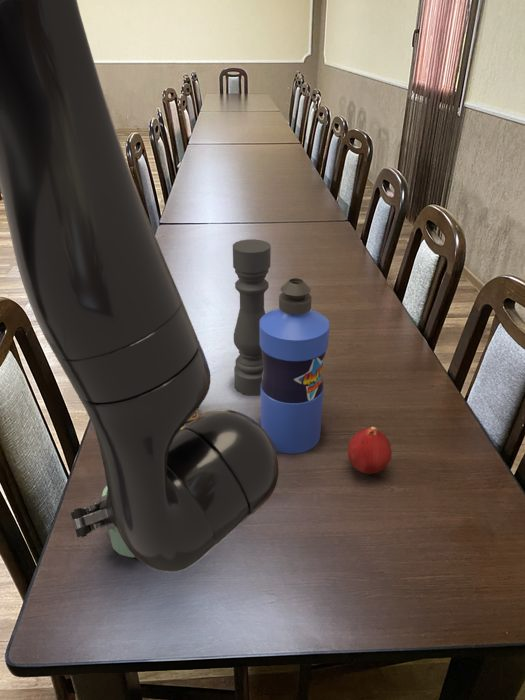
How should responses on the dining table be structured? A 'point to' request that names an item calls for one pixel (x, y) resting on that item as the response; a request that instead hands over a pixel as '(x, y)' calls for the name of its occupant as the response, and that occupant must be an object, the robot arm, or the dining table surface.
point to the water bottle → (293, 370)
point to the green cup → (117, 538)
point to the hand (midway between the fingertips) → (130, 502)
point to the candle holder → (250, 312)
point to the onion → (369, 451)
